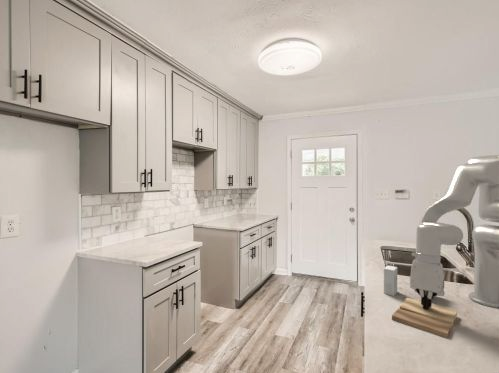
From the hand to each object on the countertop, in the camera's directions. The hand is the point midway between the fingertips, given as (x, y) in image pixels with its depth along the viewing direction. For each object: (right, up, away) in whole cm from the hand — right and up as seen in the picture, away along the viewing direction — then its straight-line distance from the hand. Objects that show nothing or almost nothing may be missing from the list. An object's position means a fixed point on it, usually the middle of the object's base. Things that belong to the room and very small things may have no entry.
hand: (426, 307), depth 101 cm
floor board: (-3, -3, -4) cm, 6 cm away
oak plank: (0, -2, -1) cm, 2 cm away
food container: (+10, -3, +16) cm, 19 cm away
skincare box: (-4, -3, +18) cm, 19 cm away
